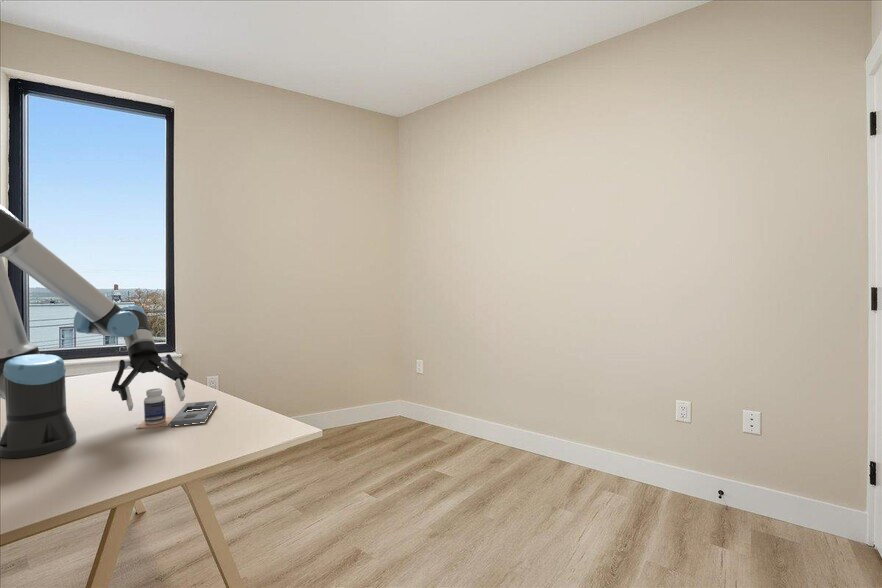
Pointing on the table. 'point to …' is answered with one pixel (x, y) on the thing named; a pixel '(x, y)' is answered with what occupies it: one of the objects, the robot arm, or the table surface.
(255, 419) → the table surface
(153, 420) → the pill bottle
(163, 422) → the coaster
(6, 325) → the robot arm
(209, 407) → the holder
